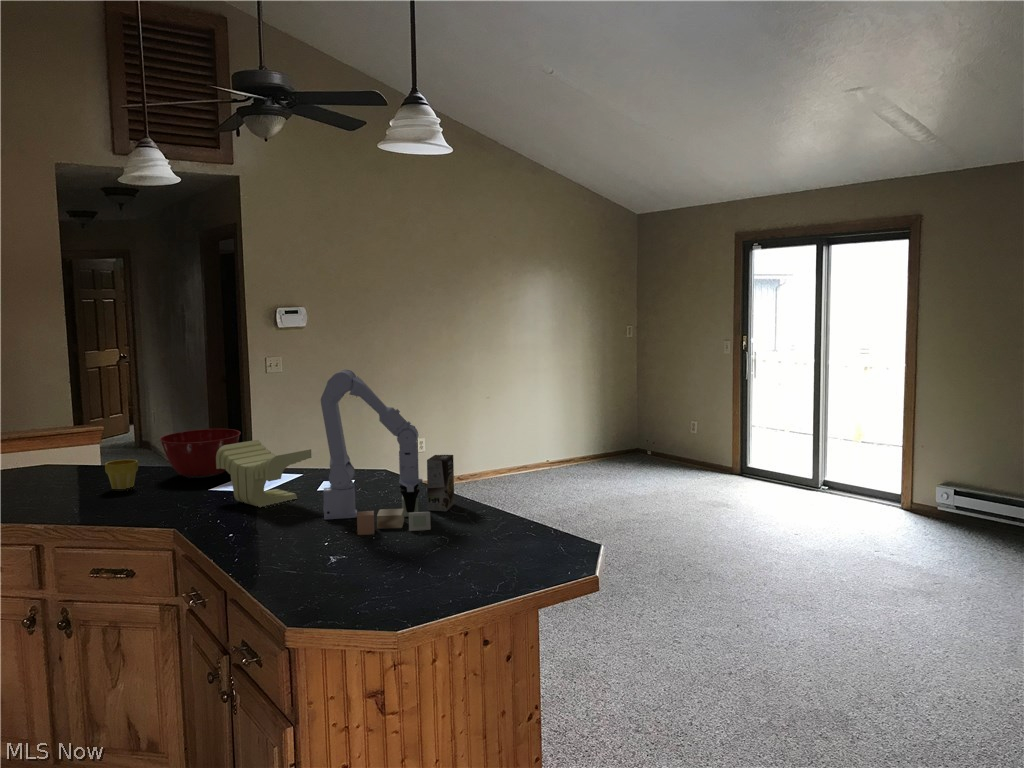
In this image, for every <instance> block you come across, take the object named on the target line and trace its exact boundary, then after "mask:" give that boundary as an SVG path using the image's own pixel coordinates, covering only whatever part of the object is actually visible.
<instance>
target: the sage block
mask: <svg viewBox="0 0 1024 768" xmlns="http://www.w3.org/2000/svg"><path fill="white" fill-rule="evenodd" d="M401 509H404V518H405V517H406V518H407V517H408V518H409V513H413V512H407V510H406V506H405V501H404V498H403V495H402V494H401ZM414 512H419V500H418V496H417V498H416V503H415V510H414Z"/></svg>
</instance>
